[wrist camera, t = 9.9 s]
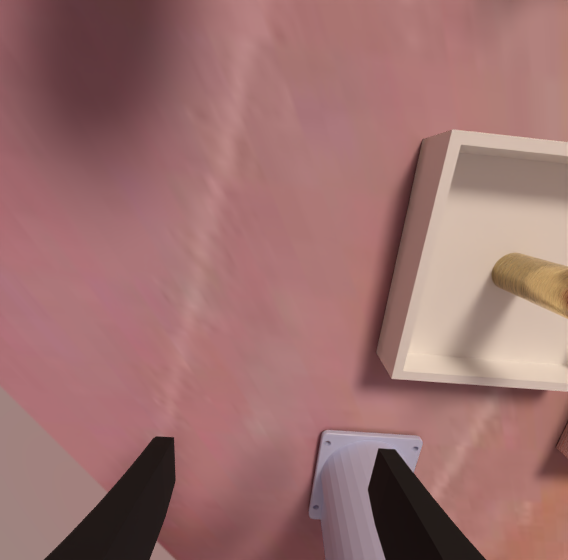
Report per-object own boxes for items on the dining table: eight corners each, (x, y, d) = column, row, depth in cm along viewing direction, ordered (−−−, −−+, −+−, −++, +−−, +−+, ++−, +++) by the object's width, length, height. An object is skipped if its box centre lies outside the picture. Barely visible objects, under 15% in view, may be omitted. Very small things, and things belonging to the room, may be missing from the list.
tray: (562, 366, 21) (605, 394, 19) (376, 352, 21) (391, 378, 18) (652, 164, 17) (727, 159, 14) (422, 139, 17) (452, 129, 14)
